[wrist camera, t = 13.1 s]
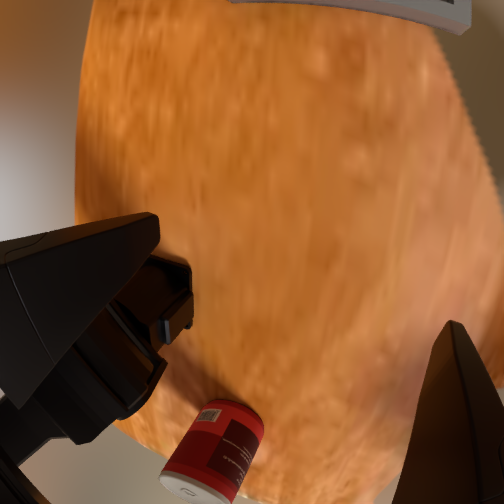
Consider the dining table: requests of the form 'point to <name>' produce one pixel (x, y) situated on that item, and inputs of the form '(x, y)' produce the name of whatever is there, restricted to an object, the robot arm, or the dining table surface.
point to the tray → (402, 10)
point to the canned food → (214, 454)
